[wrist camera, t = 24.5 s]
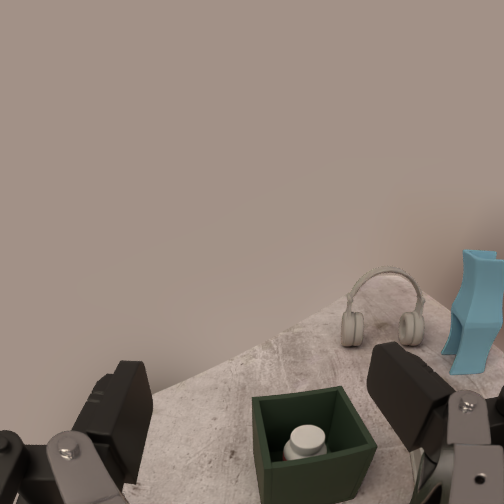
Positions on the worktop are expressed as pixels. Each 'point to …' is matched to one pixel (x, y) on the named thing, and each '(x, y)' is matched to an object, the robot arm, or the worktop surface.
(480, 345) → the blue two-legged arch
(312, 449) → the pill bottle
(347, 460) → the trash bin
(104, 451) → the robot arm
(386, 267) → the headphones
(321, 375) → the worktop surface
